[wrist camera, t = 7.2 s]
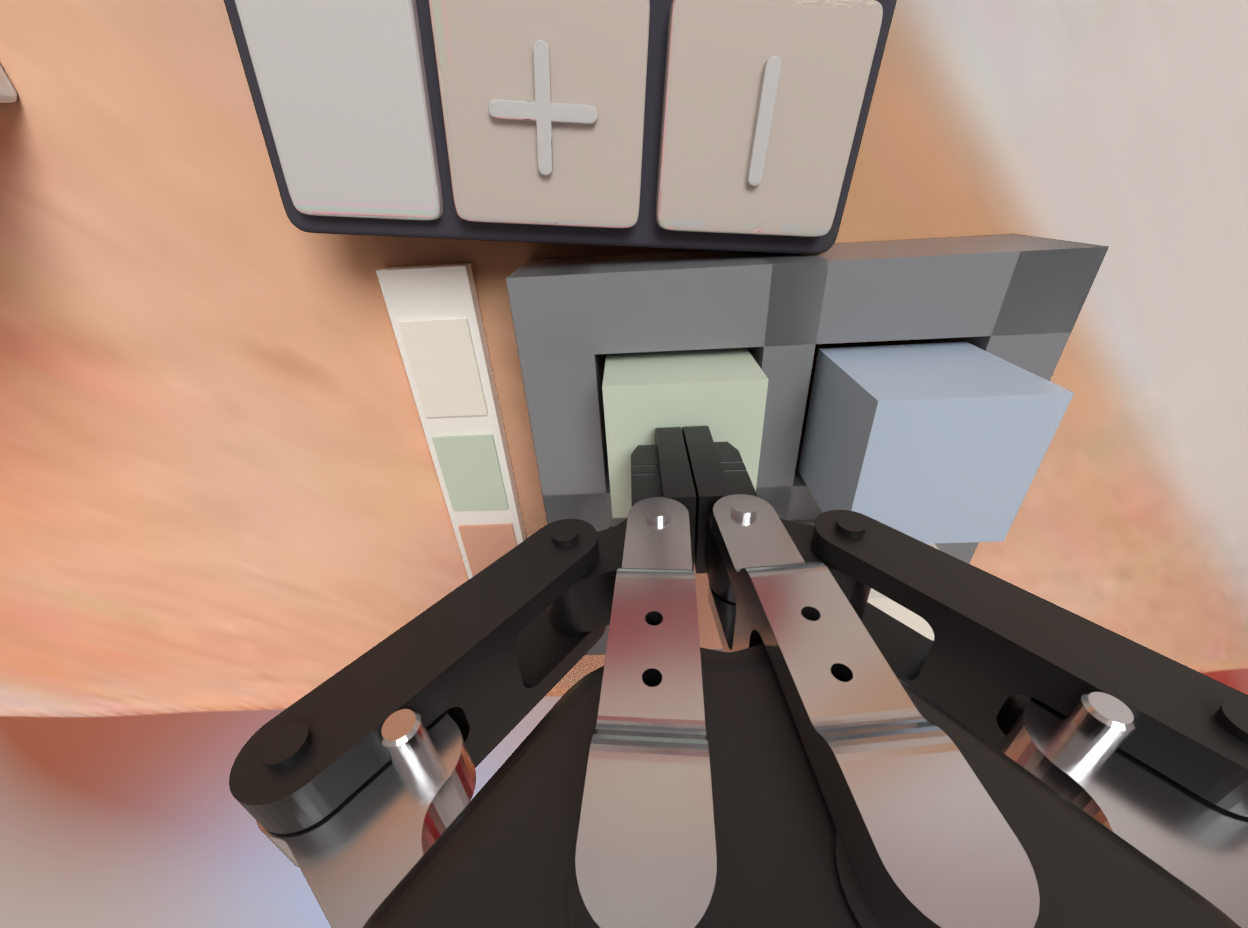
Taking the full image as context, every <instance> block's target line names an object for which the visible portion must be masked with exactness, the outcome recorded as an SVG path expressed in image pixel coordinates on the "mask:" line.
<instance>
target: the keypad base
mask: <svg viewBox="0 0 1248 928" xmlns="http://www.w3.org/2000/svg"><path fill="white" fill-rule="evenodd" d="M1107 250H1108V246H1100V245H1093V244H1086V243H1078V242H1071V241H1063V240H1056V239H1049V238H1041V237H1034V236H1026V235H1019V234H1004V235H986V236H967V237H948V238H930V239H911V240H892V241H874V242H855V243H836V244H833V246H832V247H831V248H830V249H829V250H828V251H826V252H824V253H821V254H792V253H768V252H745V251H722V250H705V251H687V252H668V253H649V254H631V255H612V256H593V257H575V258H556V259H537V260H528V261H527V262H526V263H524V264H523V265H522V266H521V267H519V268H518V269H517V270H516V271H514V272H513V273H512V274H510V275H509V276H508V277H507V278H506V283H507V288H508V294H509V300H510V306H511V312H512V318H513V324H514V330H515V336H516V341H517V347H518V353H519V359H520V365H521V371H522V377H523V383H524V389H525V394H526V400H527V406H528V412H529V418H530V424H531V430H532V436H533V441H534V447H535V453H536V459H537V465H538V471H539V477H540V483H541V489H542V494H543V500H544V506H545V512H546V518H547V524H550V523H552V522H554V521H557V520H562V519H579V520H583V521H586V522H588V523H590V524H591V525H592V526H593V527H594V528H595V529H596V531H597V532H598V531H602V530H606V529H609V528H612V527H614V526H617V525H618V524H620V523H622V522H623V521H624V520H625V519H626V518H612V505H611V492H610V480H609V467H608V454H607V442H606V429H605V416H604V404H603V391H602V384H603V376H604V364H603V354H615V353H637V352H658V351H680V350H701V349H723V348H744V347H746V348H747V350H748V351H749V352H750V354H751V355H752V357H753V358H754V359H755V361H756V362H757V364H758V365H759V366H760V368H761V369H762V371H763V372H764V374H765V375H766V376H767V378H768V379H769V380H768V389H767V398H766V406H765V415H764V424H763V432H762V441H761V450H760V459H759V467H758V476H757V485H756V493H757V496H758V497H759V498H761V499H763V500H765V501H766V502H768V503H769V504H770V505H771V506H772V507H773V508H774V510H775V511H776V513H777V515H778V517H779V518H781V519H784V520H787V521H788V520H816V519H817V517H818V516H819V515H820V514H822V511H821V509H820V507H819V506H818V504H817V502H816V501H815V499H814V497H813V495H812V494H811V492H810V490H809V489H808V487H807V485H806V484H805V482H804V480H803V478H802V477H801V475H800V473H799V472H798V469H799V463H800V457H801V451H802V445H803V439H804V437H803V438H801V432H802V426H803V420H804V413H805V407H806V401H807V395H808V389H809V383H810V376H811V370H812V364H813V358H814V352H815V346H816V344H830V343H852V342H873V341H895V340H916V339H917V340H916V344H928V343H950V342H968V343H970V344H972V345H974V346H976V347H978V348H980V349H983V350H985V351H987V352H989V353H991V354H993V355H995V356H997V357H999V358H1002V359H1004V360H1006V361H1008V362H1010V363H1012V364H1014V365H1016V366H1018V367H1021V368H1023V369H1025V370H1027V371H1029V372H1031V373H1033V374H1035V375H1037V376H1039V377H1042V378H1044V379H1046V380H1048V381H1050V379H1051V377H1052V374H1053V372H1054V370H1055V368H1056V365H1057V363H1058V361H1059V359H1060V356H1061V354H1062V352H1063V349H1064V347H1065V345H1066V343H1067V340H1068V338H1069V336H1070V334H1071V331H1072V329H1073V327H1074V324H1075V322H1076V320H1077V318H1078V315H1079V313H1080V311H1081V309H1082V306H1083V304H1084V302H1085V300H1086V297H1087V295H1088V293H1089V290H1090V288H1091V286H1092V284H1093V281H1094V279H1095V277H1096V275H1097V272H1098V270H1099V268H1100V265H1101V263H1102V261H1103V259H1104V256H1105V254H1106V252H1107ZM978 543H979V542H966V543H935V545H936V546H937V547H938V549H939V550H940V551H942V552H945V553H947V554H949V555H951V556H953V557H955V558H957V559H959V560H962V561H964V562H966V563H968V564H969V563H970V561H971V558H972V556H973V554H974V552H975V549H976V547H977V545H978ZM609 626H610V625H607V626H606V630H605V632H604V634H603V636H602V637H601V638H600V639H599V640H598V642H597V643H596V644H595V645H594V646H593V647H592V648H591V649H590V650H589V651H588V652H587V653H586V654H585V655H599V654H606V649H607V641H608V634H609ZM712 650H717V651H723V649H712Z"/></svg>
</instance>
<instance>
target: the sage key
mask: <svg viewBox="0 0 1248 928" xmlns="http://www.w3.org/2000/svg"><path fill="white" fill-rule="evenodd" d="M768 380H769V379H768V378H767V376H766V375H765V374H764V372H763V371H762V369H761V368H760V366H759V365H758V364H757V362H756V361H755V359H754V358H753V357H752V355H751V354H750V352H749V351H748V350H747V348H746V347H744V348H723V349H701V350H680V351H658V352H637V353H615V354H606V361H605V369H604V376H603V384H602V391H603V404H604V416H605V429H606V442H607V454H608V467H609V480H610V492H611V505H612V518H627V517H628V513H629V510H630V508H631V507H632V501H631V454H632V452H633V451H634V450H635V449H636V447H637V446H638V445H655V428H662V427H681V430H682V427H684V426H708V427H709V429H710V432H711V435H712V438H713V441H714V442H729V443H730V444H731V445H732V446H734V447H735V448H736V449H738V450H739V453H740V455H741V457H742V460H743V463H744V465H745V467H746V471H747V472H748V474H749V477H750V479H751V481H752V484H753V486H754V489H755V491H756V485H757V476H758V467H759V459H760V450H761V441H762V432H763V424H764V415H765V406H766V398H767V389H768Z"/></svg>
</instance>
